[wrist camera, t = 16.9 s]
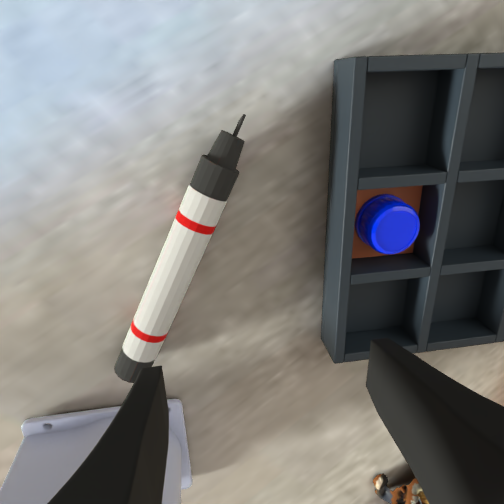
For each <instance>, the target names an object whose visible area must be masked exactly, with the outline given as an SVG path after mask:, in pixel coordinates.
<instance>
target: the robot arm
mask: <svg viewBox="0 0 504 504" xmlns="http://www.w3.org/2000/svg"><path fill="white" fill-rule="evenodd" d="M366 387H367V389H368V391H369V394H370V396H371V399H372V401H373V403H374V406H375V408H376V410H377V412H378V414H379V416H380V417H381V419H382V421H383V423H384V424H385V426H386V428H387V429H388V431H389V433H390V435H391V436H392V438H393V440H394V441H395V443H396V445H397V446H398V448H399V450H400V451H401V453H402V455H403V456H404V458H405V460H406V461H407V463H408V465H409V466H410V468H411V470H412V471H413V473H414V475H415V477H416V479H417V481H418V482H419V484H420V486H421V488H422V490H423V492H424V495H425V497H426V499H427V501H428V503H429V504H504V407H503V406H501V405H499V404H497V403H495V402H493V401H491V400H489V399H487V398H485V397H483V396H481V395H479V394H478V393H476V392H474V391H472V390H470V389H469V388H467V387H465V386H463V385H462V384H460V383H458V382H456V381H455V380H453V379H451V378H450V377H448V376H446V375H445V374H443V373H441V372H440V371H438V370H437V369H435V368H434V367H432V366H430V365H429V364H427V363H426V362H424V361H423V360H421V359H420V358H418V357H417V356H415V355H414V354H412V353H411V352H409V351H408V350H406V349H405V348H403V347H402V346H400V345H399V344H397V343H396V342H394V341H392V340H391V339H389V338H381V339H373V340H371V345H370V354H369V363H368V372H367V381H366ZM168 407H169V408H168ZM46 423H50V424H51V425H50V424H46ZM21 429H22V432H23V435H24V439H23V441H22V443H21V445H20V448H19V450H18V452H17V454H16V456H15V459H14V461H13V463H12V465H11V467H10V470H9V472H8V474H7V476H6V478H5V481H4V483H3V485H2V487H1V489H0V504H181V490H182V489H187V488H189V487H191V485H192V473H191V465H190V458H189V451H188V443H187V436H186V428H185V421H184V414H183V406H182V402H181V401H180V400H178V399H168V400H167V398H166V391H165V385H164V378H163V372H162V366H156V367H148V368H142V369H141V370H140V371H139V374H138V376H137V378H136V380H135V382H134V384H133V386H132V388H131V390H130V392H129V393H128V395H127V397H126V399H125V401H124V402H123V404H122V406H116V407H109V408H101V409H94V410H87V411H79V412H72V413H65V414H57V415H50V416H42V417H35V418H29V419H26V420H25V421H24V423H23V425H22V427H21Z"/></svg>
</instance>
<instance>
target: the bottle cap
mask: <svg viewBox="0 0 504 504" xmlns="http://www.w3.org/2000/svg"><path fill="white" fill-rule="evenodd" d="M355 229H356V233H357V235H358V237H359V238H360V239H361V240H362V241H363V242H364V243H366V244H367V245H369V246H371V247H372V248H373V249H374V250H375V251H377V252H379V253H382V254H396V253H399V252H402V251H404V250H405V249H407V248H408V247H410V246H411V244H412V243H413V242H414V241H415V239H416V237H417V236H418V233H419V229H420V222H419V217H418V214H417V212H416V211H415V210H414V208H412V207H411V206H410V205H408V204H406V203H405V202H404V201H403V200H402V199H400V198H399V197H397V196H395V195H392V194H380V195H377V196H374V197H372V198H370V199H369V200H368V201H366V202H365V203H364V204H363V206H362V207H361V208H360V210H359V212H358V214H357V216H356V220H355Z"/></svg>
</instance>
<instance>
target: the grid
mask: <svg viewBox="0 0 504 504" xmlns="http://www.w3.org/2000/svg"><path fill="white" fill-rule="evenodd" d="M380 194H392V195H395V196H397V197H399V198H400V199H402V200H403V201H404V202H405V203H406V204H408V205H410V206H411V207H412V208H414V210H415V211H416V212H417V214H418V217H419V222H420V229H419V233H418V236H417V237H416V239H415V241H414V242H413V243H412V244H411V246H410V247H408V248H407V249H405V250H404V251H402V252H399V253H396V254H382V253H379V252H377V251H375V250H374V249H373V248H372V247H371V246H369V245H367V244H366V243H364V242H363V241H362V240H361V239H360V238H359V237H358V235H357V233H356V229H355V220H356V216H357V214H358V212H359V210H360V208H361V207H362V206H363V204H364V203H365V202H366V201H368V200H369V199H370V198H372V197H374V196H377V195H380ZM381 338H389V339H391V340H392V341H394V342H396V343H397V344H399V345H400V346H402V347H403V348H405V349H406V350H408V351H409V352H411V353H416V352H417V353H420V352H425V351H435V350H443V349H450V348H458V347H466V346H473V345H481V344H488V343H494V342H503V341H504V53H472V54H435V55H398V56H368V57H366V56H362V57H350V58H343V59H336V60H335V61H334V79H333V99H332V120H331V141H330V161H329V182H328V202H327V223H326V244H325V264H324V285H323V305H322V326H321V339H322V341H323V343H324V345H325V347H326V349H327V351H328V353H329V354H330V356H331V358H332V360H333V362H334V363H343V362H351V361H358V360H366V359H369V354H370V345H371V340H373V339H381Z"/></svg>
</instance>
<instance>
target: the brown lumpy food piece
mask: <svg viewBox="0 0 504 504" xmlns="http://www.w3.org/2000/svg"><path fill="white" fill-rule="evenodd" d="M373 483H374V486H375V487H376V490H375V492H376V494H377V495H378V496H379V497H380V498H381V499H383V500H384V501H387V502H388V503H390V504H429V503H428V501H427V499H426V497H425V495H424V492H423V490H422V488H421V486H420V484H419V482H418V481H417V479H416V478H415V479H413V481H412V482H411V484H409V485H403V486H401V487H400V488H398V487H397V488H396V489H395V490H394V491H393V492H392V491H391V490H390V489H389V488H387V483H388V479H387V477H386V475H384V474H379V475H377V476H376V477H375V478H374V480H373Z"/></svg>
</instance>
